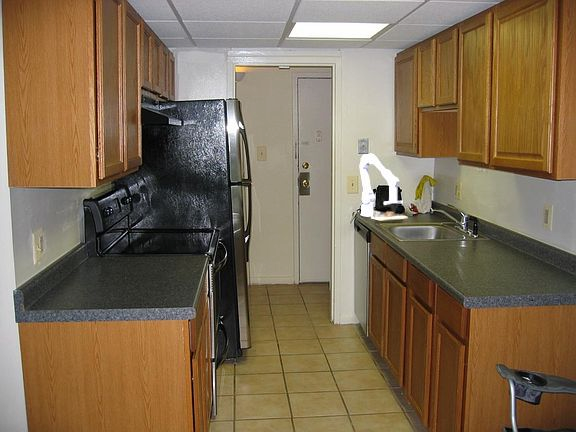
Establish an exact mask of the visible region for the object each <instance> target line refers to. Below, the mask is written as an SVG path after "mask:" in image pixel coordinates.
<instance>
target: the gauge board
mask: <svg viewBox="0 0 576 432" xmlns="http://www.w3.org/2000/svg"><path fill="white" fill-rule="evenodd" d="M395 214H396V215H395ZM395 214H394V215H391V216H386V213H385V214H381V211H377V210H374V211H373V216H370V219H373V220H377V221H382V222H383V221H394V220H405V219H409V217H408V216H406V215H403V214H398V213H396V212H395Z"/></svg>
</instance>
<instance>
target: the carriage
mask: <svg viewBox="0 0 576 432" xmlns="http://www.w3.org/2000/svg"><path fill="white" fill-rule="evenodd" d="M385 214H386V216H391V215H394V212H391V210H390V211H389V210H387V211H386V212H385ZM395 215H396V213H395Z"/></svg>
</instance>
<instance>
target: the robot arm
mask: <svg viewBox="0 0 576 432" xmlns="http://www.w3.org/2000/svg"><path fill="white" fill-rule="evenodd" d="M370 165H373V166H374V167H376V168H377V170H379V171H380V172H381V176H382V177H383V178H384V179H385V180H386V182H387V185H388V186H389V188H388V189H389V197H388V198H389V199H388V201H383V205H384V206H387V205H388V207H389V209H390V211H391V212H394V214H396V211H397V209H398V207H399V204H404V200H398V198H399V195H398V192H399V191H398V190H399V189H398V188H399V187H398V186H399V184H400V180H399V178H398V177H397V176H395V175H394V174H393V173H392V171H391V170H390V169H386V168H385V167H384V166H383V164H382V163H381V161H380V160H379V159H378V157H377V156H376V155H375V154H373V153H369V154H368V153H367V154H362V157H361V158H360V163H359V172H360V177H361V183H362V189H363V191H362V194H361V196H362V197H361V201H362V204H361V205H360V210H361V211H360V216H362V217H373V211H375V210H374V206H375V205H374V203H375V201H376V196H375V194H374V191H373V190H372V188H371V187H372V186H371V180H370V176H369V175H370V174H369V167H370Z"/></svg>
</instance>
